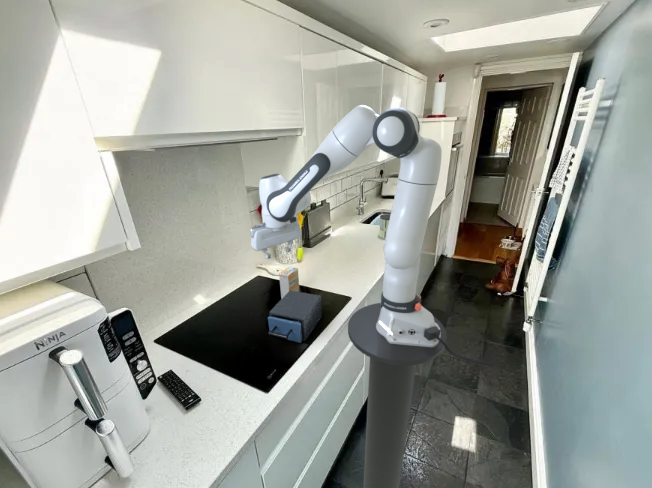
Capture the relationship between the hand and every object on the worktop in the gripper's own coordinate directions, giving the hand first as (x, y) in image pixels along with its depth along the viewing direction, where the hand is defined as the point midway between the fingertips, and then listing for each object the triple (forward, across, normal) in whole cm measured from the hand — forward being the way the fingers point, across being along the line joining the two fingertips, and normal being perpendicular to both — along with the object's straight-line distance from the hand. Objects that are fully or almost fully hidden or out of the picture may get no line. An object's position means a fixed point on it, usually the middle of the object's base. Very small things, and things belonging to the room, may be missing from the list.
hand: (278, 254), depth 119 cm
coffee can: (+25, +99, +24) cm, 105 cm away
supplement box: (+25, +8, +6) cm, 27 cm away
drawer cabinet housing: (+25, -3, -13) cm, 28 cm away
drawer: (+24, -7, -16) cm, 29 cm away
